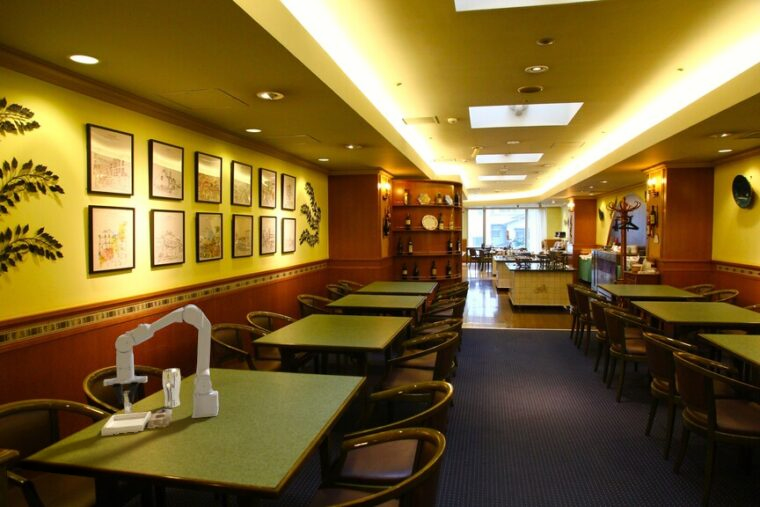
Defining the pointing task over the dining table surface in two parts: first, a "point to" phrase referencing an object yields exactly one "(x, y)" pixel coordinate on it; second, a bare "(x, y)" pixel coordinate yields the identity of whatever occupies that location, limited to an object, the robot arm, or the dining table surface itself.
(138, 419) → the tray
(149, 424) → the block
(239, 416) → the dining table surface
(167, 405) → the beer glass
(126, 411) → the pin
